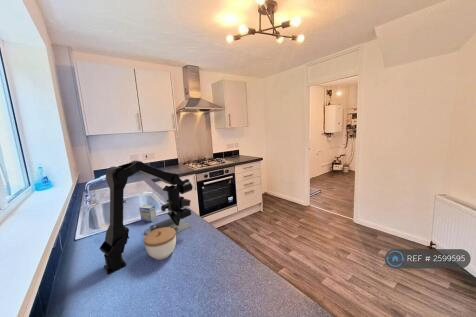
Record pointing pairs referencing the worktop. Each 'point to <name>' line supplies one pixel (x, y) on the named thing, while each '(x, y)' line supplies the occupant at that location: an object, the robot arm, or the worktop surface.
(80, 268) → the worktop surface
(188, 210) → the robot arm
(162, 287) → the worktop surface
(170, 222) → the cable arm
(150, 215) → the medicine box
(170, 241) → the lidded bowl
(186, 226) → the chassis plate
